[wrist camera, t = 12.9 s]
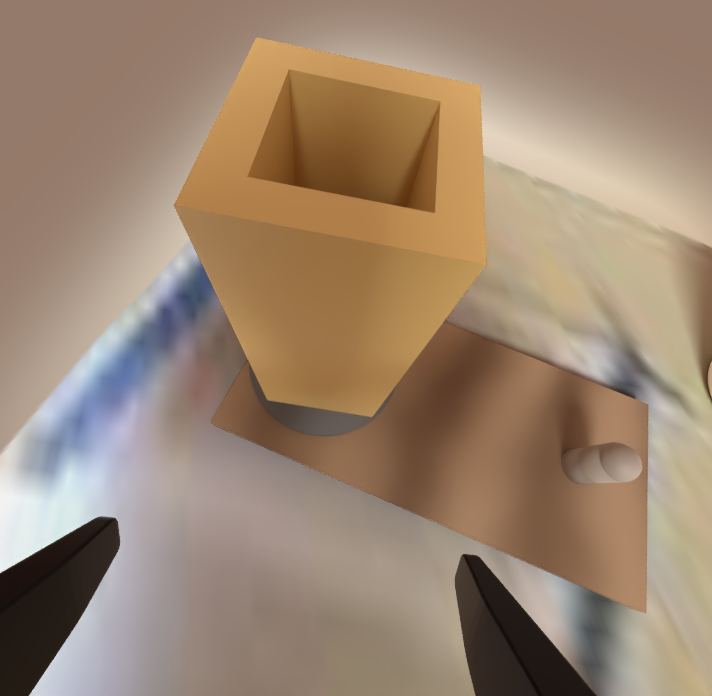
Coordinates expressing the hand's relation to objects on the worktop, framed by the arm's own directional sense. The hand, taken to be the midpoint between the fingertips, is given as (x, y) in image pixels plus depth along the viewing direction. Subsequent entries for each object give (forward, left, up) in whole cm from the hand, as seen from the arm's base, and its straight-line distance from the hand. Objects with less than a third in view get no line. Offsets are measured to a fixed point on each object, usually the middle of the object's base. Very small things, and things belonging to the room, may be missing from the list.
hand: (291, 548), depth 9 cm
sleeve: (+5, +6, -7) cm, 11 cm away
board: (+10, +1, -9) cm, 13 cm away
